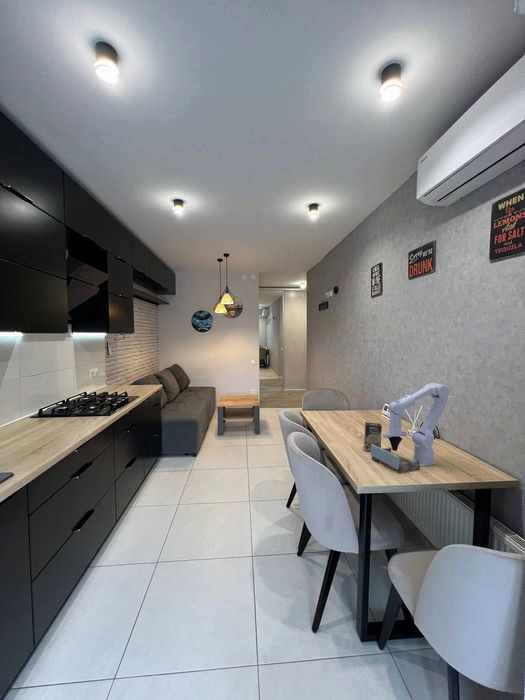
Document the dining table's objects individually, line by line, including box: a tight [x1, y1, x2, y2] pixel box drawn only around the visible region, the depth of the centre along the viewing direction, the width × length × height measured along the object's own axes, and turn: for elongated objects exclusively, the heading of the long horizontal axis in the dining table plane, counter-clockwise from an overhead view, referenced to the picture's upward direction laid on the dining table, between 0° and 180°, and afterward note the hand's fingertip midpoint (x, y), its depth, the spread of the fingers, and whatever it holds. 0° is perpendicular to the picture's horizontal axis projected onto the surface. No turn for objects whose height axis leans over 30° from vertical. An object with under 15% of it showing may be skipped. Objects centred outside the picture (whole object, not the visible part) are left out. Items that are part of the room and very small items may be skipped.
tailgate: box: [370, 444, 401, 469], centre depth 156 cm, size 1×19×6 cm, turn 21°
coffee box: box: [363, 421, 383, 453], centre depth 177 cm, size 9×6×16 cm
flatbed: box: [371, 447, 421, 474], centre depth 159 cm, size 13×20×4 cm, turn 21°
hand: (394, 450), depth 158 cm, fingers closed
